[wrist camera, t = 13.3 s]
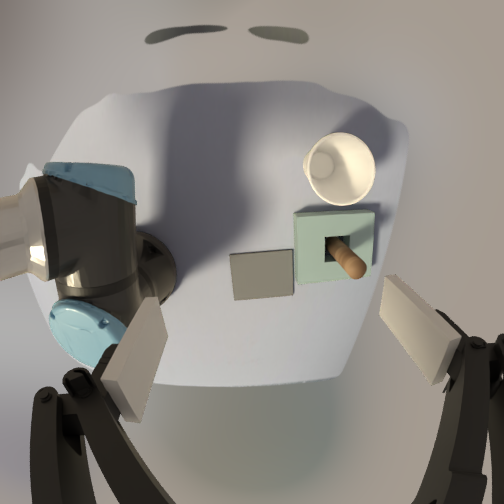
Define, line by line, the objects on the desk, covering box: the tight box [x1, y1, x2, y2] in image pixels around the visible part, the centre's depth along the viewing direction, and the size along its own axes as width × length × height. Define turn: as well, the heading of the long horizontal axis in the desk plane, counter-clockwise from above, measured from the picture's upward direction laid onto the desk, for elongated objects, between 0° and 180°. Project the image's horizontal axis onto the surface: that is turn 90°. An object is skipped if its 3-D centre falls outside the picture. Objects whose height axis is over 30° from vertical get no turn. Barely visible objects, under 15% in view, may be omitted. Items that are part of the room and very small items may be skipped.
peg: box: [325, 236, 367, 279], centre depth 43 cm, size 3×3×12 cm
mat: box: [229, 249, 293, 300], centre depth 50 cm, size 11×9×1 cm
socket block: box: [293, 209, 375, 285], centre depth 47 cm, size 14×12×3 cm
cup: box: [303, 132, 376, 206], centre depth 39 cm, size 10×10×11 cm
